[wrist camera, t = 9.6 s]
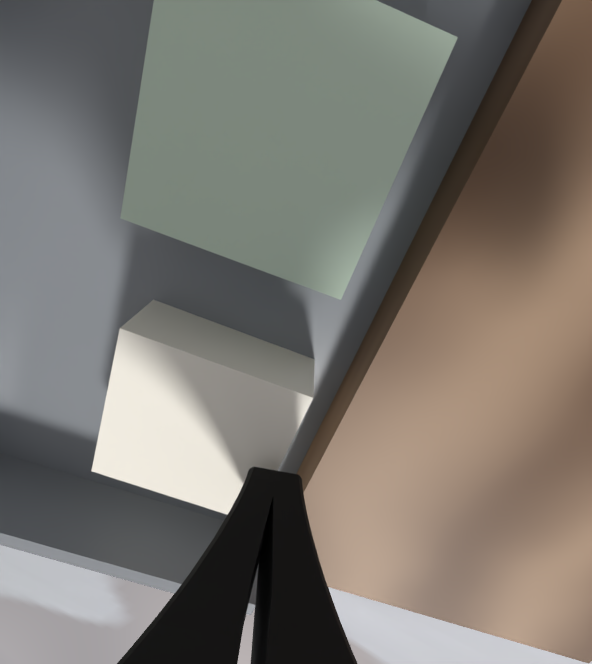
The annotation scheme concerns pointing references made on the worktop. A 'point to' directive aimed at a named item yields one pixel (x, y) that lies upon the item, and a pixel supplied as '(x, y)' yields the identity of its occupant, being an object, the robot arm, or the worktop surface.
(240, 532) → the robot arm
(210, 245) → the sage tile
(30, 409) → the box
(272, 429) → the cream tile
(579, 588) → the walnut plate
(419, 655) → the worktop surface
